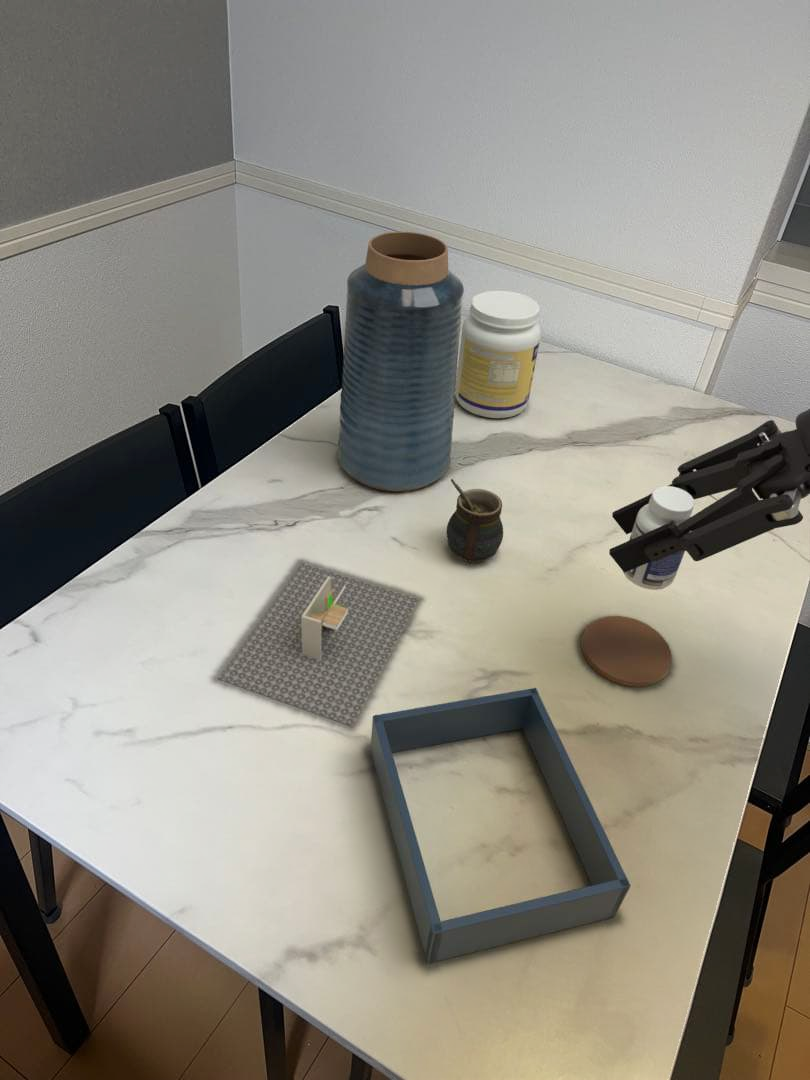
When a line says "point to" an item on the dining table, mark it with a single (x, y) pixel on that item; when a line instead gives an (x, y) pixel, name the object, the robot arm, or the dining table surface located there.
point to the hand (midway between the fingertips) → (618, 541)
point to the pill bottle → (657, 513)
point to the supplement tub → (498, 354)
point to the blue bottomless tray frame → (567, 793)
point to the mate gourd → (475, 525)
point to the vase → (400, 363)
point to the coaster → (626, 651)
